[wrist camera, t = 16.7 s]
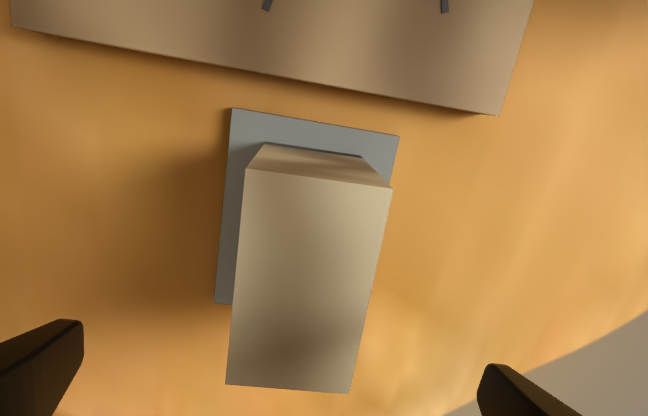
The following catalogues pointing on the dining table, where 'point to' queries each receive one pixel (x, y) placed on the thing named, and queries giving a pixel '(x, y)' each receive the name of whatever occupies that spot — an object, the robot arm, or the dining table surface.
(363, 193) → the block
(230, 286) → the mat
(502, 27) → the oak board
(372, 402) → the dining table surface
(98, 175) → the dining table surface
